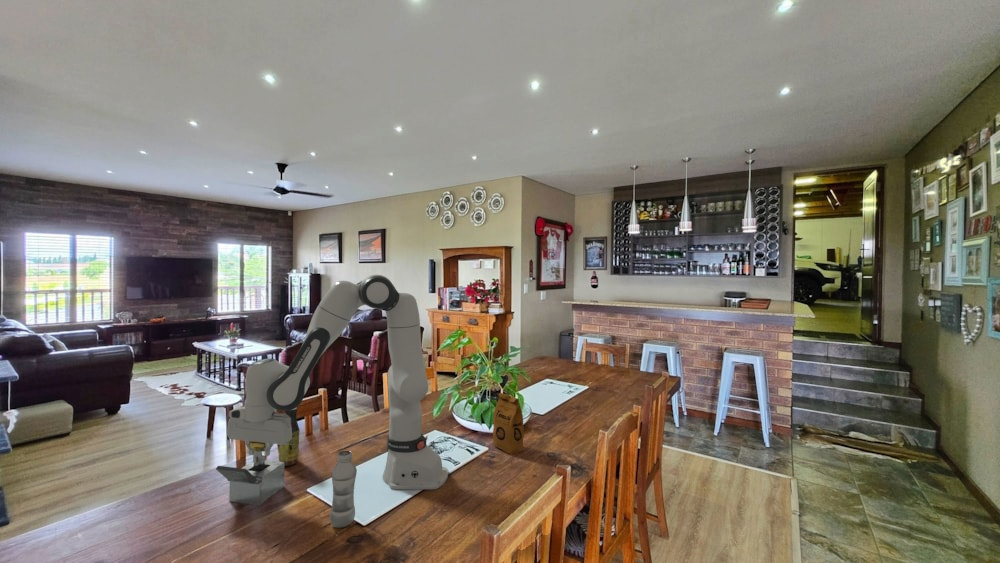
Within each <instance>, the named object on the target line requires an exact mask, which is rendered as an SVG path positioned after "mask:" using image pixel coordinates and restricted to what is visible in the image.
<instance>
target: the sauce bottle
mask: <svg viewBox="0 0 1000 563" xmlns="http://www.w3.org/2000/svg"><path fill="white" fill-rule="evenodd" d="M284 413H285V414H287V415H288V416H289V417H290V418H291V427H292V439H291V440H290V441H289V442H288V443H286V444H284V445H279V450H278V451H279V452H278V453H279V454H278V458H279V459H278V460H279V462H285V463H284V467H287V466H292V465H295V464H296V463H297V462H298V460H299V459H298V458H299V450H300V448H299V447H300V433H301V432H300V427H299V424H298V420H297V415H298V414H297V413H298V407H296V408H294V409H292V410H289V411H284Z"/></svg>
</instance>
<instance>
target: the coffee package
mask: <svg viewBox="0 0 1000 563" xmlns="http://www.w3.org/2000/svg"><path fill="white" fill-rule="evenodd" d="M492 426H493V431H492V434H493V435H492V438H493V439H492V446H495V447H497V448H499V449H500V450H502V451H503V452H505V453H508V454H509V455H512V456H513V455H514V454H515V455H516V454H518V453H522V452H523V451H524V437H525V436H524V435H525V430H524V416H523V412H522V408H521V403H520V400H519V398H517V397H515V396H513V395H510V394H507V393H502V392H499V394H498V401H497V402H496V405H495V408H494V411H493V424H492Z"/></svg>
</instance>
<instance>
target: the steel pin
mask: <svg viewBox="0 0 1000 563" xmlns="http://www.w3.org/2000/svg"><path fill="white" fill-rule="evenodd" d="M266 447H267V446H265V443H261V442H252V441H251V442H250V449H253V455H252V462H253V471H257V472H260V471H263V470H264V469H265V460H266V456H262V451H263V450H265V449H266Z"/></svg>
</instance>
